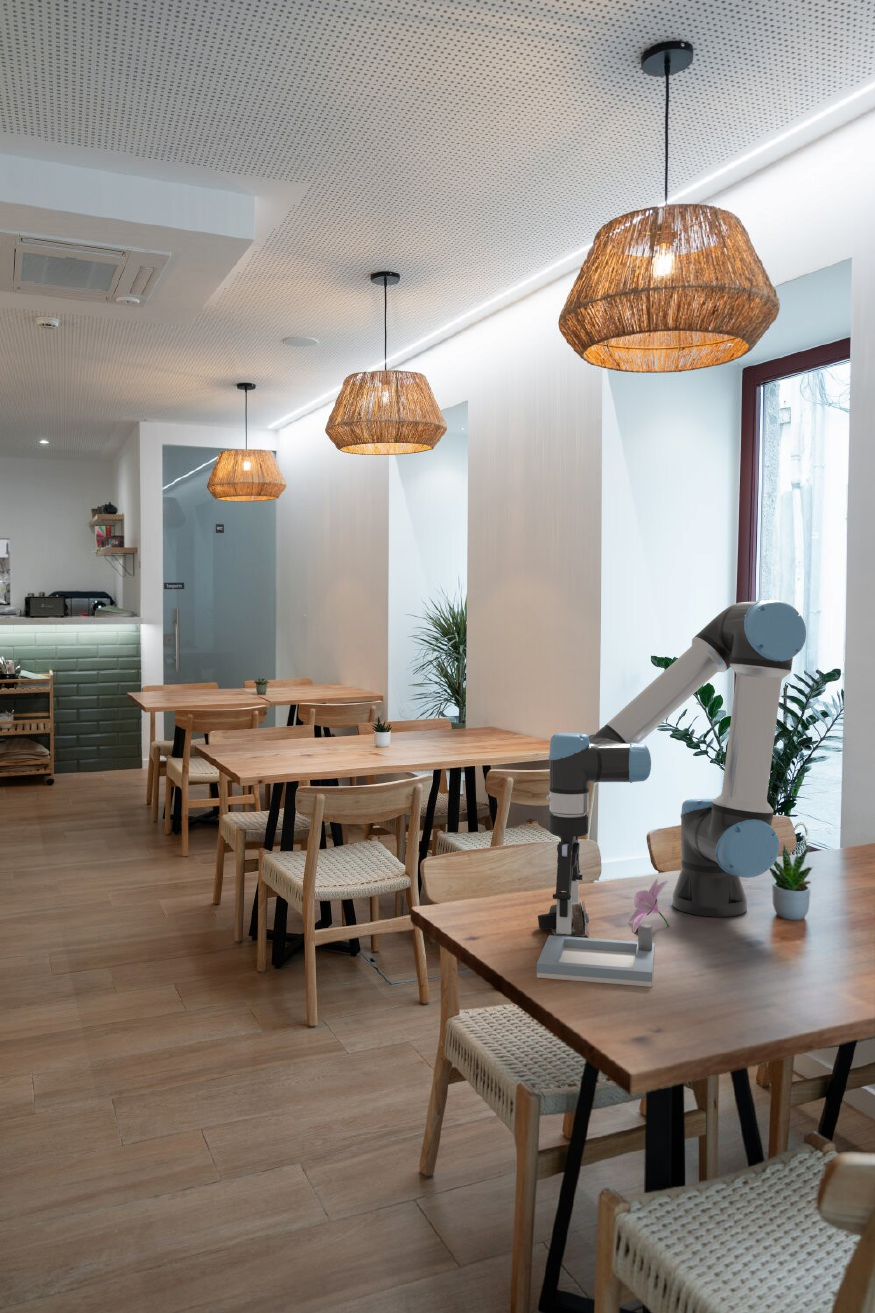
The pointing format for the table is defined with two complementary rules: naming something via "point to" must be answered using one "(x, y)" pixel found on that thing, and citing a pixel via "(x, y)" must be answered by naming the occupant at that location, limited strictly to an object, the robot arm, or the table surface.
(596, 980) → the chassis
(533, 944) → the table surface
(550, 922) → the caster wheel
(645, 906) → the lily
